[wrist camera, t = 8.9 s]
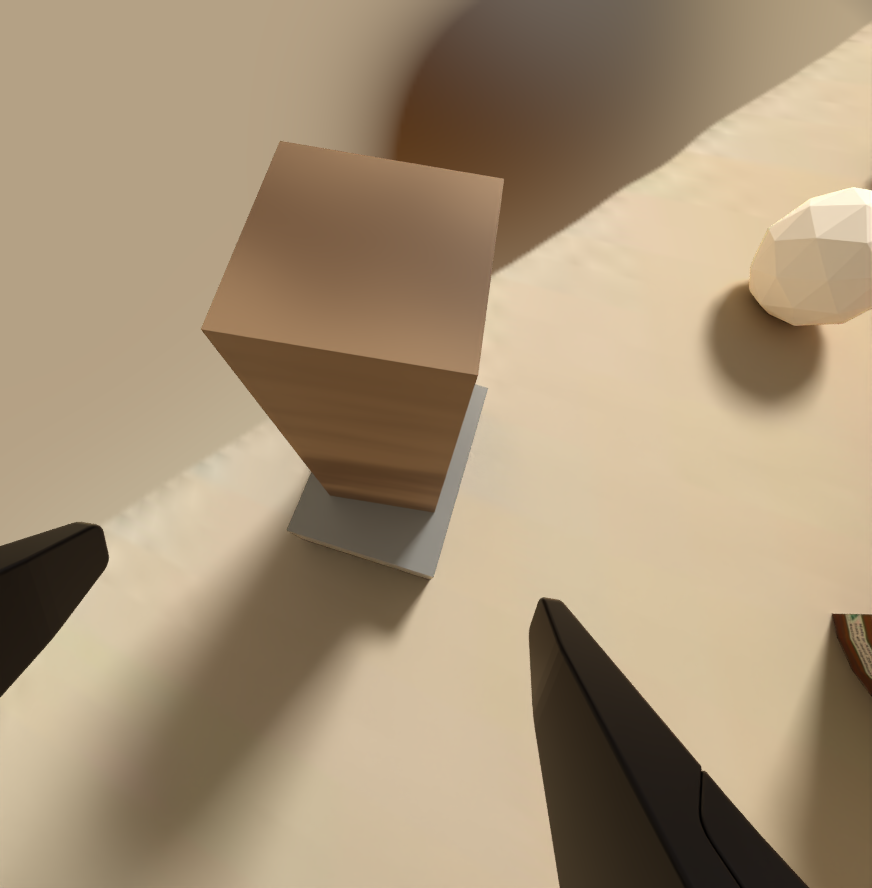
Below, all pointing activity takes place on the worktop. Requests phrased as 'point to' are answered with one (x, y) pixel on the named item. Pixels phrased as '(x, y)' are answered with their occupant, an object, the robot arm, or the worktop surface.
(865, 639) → the food container
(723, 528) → the worktop surface
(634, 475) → the worktop surface
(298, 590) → the worktop surface
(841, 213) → the ball
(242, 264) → the walnut block
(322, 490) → the grey base plate
